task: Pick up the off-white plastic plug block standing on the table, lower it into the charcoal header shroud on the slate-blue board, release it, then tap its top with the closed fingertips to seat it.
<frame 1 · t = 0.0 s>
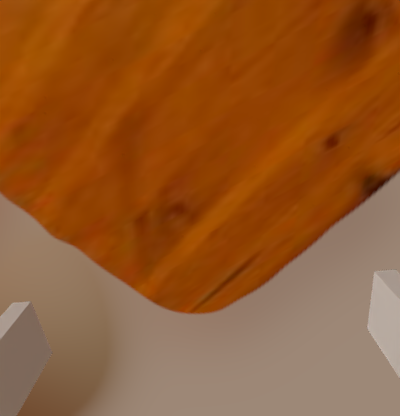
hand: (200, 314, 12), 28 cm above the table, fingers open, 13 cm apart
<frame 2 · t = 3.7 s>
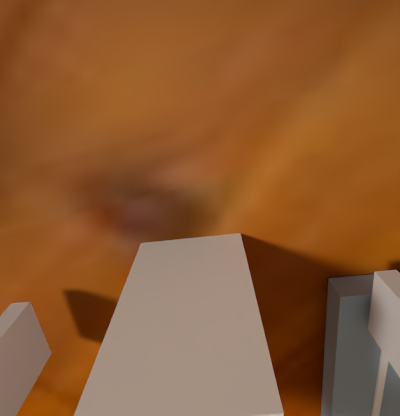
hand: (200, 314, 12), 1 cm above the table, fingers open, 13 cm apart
plug: (197, 288, 13), on the table
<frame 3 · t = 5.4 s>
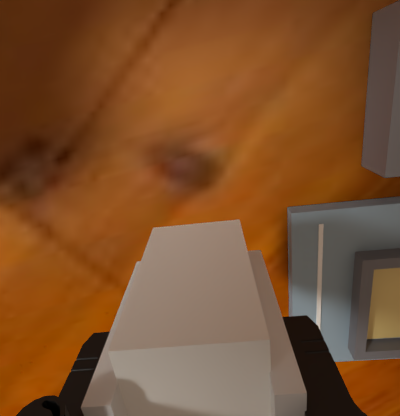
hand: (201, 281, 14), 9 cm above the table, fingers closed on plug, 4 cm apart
board: (372, 281, 24), on the table
plug: (201, 269, 15), point 8 cm above the table, touching gripper
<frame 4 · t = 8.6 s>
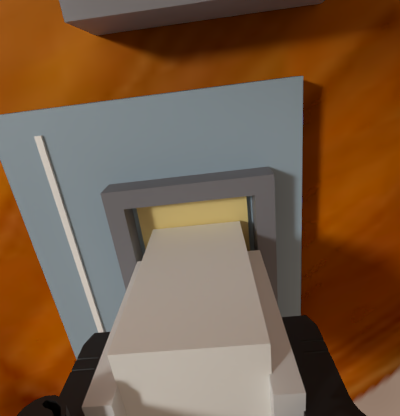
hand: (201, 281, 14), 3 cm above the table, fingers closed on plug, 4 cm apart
board: (169, 236, 16), on the table
plug: (202, 271, 15), point 2 cm above the table, touching gripper
when the fingers open (3 cm above the table, at t = 9.9 s): plug stays where it is, resting on board.
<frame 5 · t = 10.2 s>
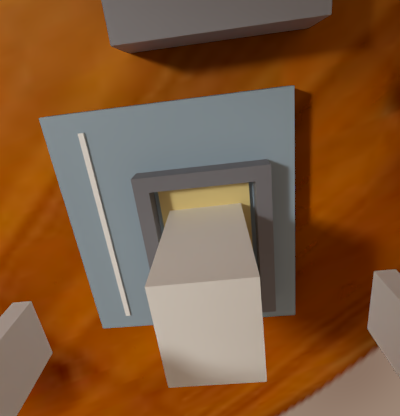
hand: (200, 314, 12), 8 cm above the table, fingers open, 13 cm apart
board: (183, 219, 19), on the table
plug: (210, 245, 18), point 1 cm above the table, touching board
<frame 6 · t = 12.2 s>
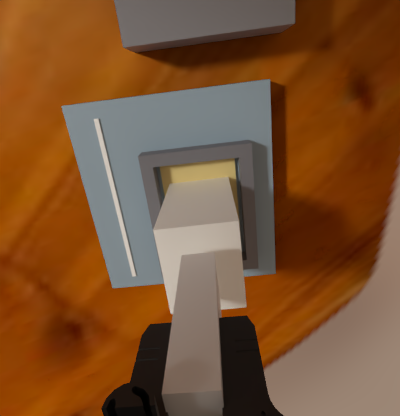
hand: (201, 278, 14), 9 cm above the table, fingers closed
board: (181, 193, 22), on the table
plug: (203, 213, 21), point 1 cm above the table, touching board
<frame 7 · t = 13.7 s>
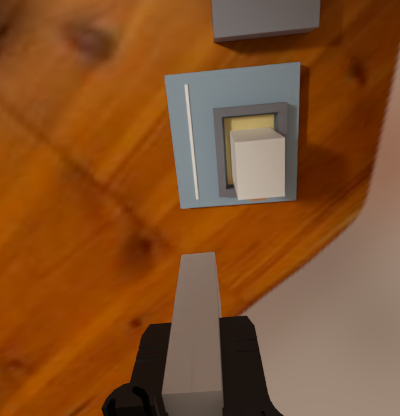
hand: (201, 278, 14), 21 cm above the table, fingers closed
board: (234, 140, 32), on the table
plug: (250, 153, 32), point 1 cm above the table, touching board
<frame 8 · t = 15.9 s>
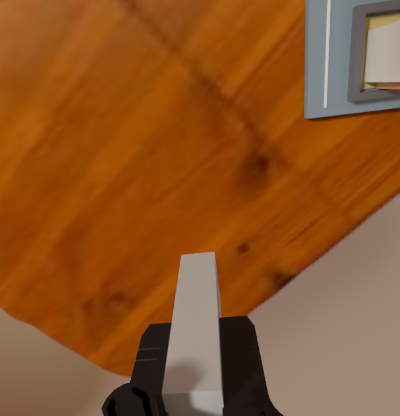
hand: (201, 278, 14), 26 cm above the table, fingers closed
board: (364, 45, 33), on the table
plug: (384, 54, 32), point 1 cm above the table, touching board
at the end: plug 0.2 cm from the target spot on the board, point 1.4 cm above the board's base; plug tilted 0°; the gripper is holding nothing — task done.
